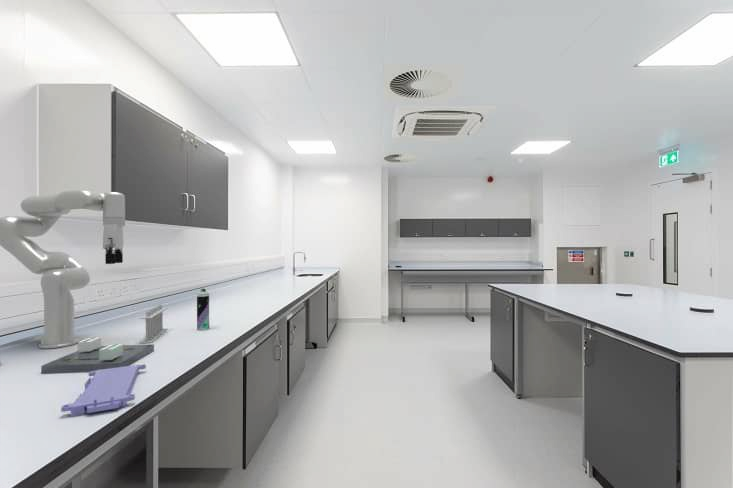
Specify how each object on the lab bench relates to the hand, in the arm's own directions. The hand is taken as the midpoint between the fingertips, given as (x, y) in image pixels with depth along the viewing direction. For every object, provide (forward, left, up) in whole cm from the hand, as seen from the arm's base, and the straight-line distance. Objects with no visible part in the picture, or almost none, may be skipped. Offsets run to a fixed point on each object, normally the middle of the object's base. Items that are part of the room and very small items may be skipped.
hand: (114, 263), depth 147 cm
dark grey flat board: (+9, -22, -34) cm, 41 cm away
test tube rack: (+10, +13, -34) cm, 38 cm away
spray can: (+27, +25, -34) cm, 50 cm away
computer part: (+28, -50, -35) cm, 67 cm away
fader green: (+15, -27, -31) cm, 44 cm away
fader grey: (+1, -16, -31) cm, 35 cm away
